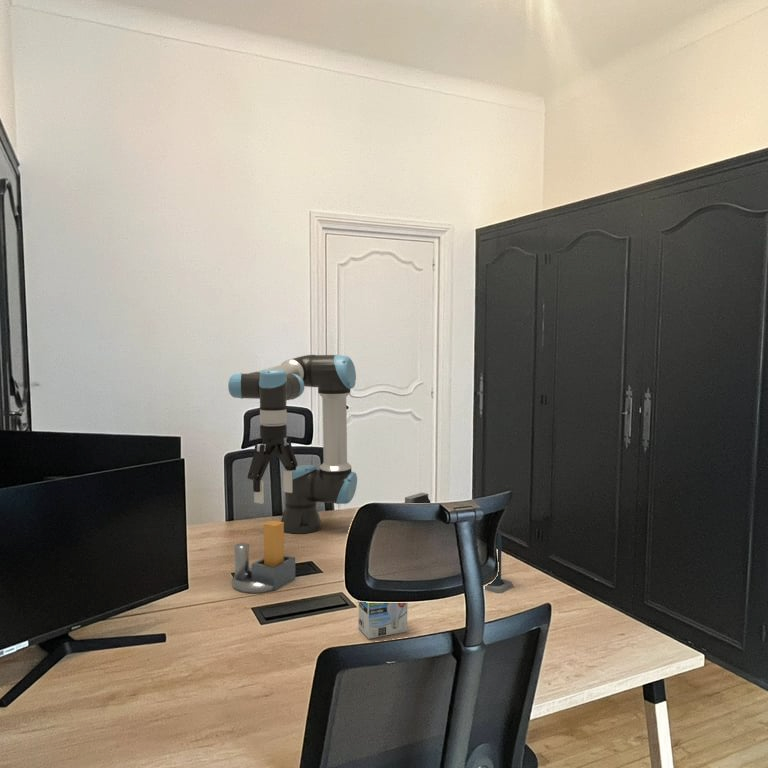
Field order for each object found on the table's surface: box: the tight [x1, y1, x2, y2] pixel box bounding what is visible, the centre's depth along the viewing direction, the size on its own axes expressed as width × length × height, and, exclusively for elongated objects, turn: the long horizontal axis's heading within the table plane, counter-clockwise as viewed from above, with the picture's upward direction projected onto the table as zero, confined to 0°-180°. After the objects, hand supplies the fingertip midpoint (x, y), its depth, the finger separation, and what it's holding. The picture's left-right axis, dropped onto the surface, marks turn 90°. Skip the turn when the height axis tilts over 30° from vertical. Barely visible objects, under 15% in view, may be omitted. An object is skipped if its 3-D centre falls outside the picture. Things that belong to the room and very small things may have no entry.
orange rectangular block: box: [263, 520, 285, 567], centre depth 183 cm, size 4×4×16 cm
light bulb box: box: [357, 601, 409, 640], centre depth 154 cm, size 11×7×11 cm, turn 115°
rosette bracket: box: [231, 542, 296, 595], centre depth 183 cm, size 15×15×11 cm
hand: (273, 497), depth 182 cm, fingers open, 13 cm apart
